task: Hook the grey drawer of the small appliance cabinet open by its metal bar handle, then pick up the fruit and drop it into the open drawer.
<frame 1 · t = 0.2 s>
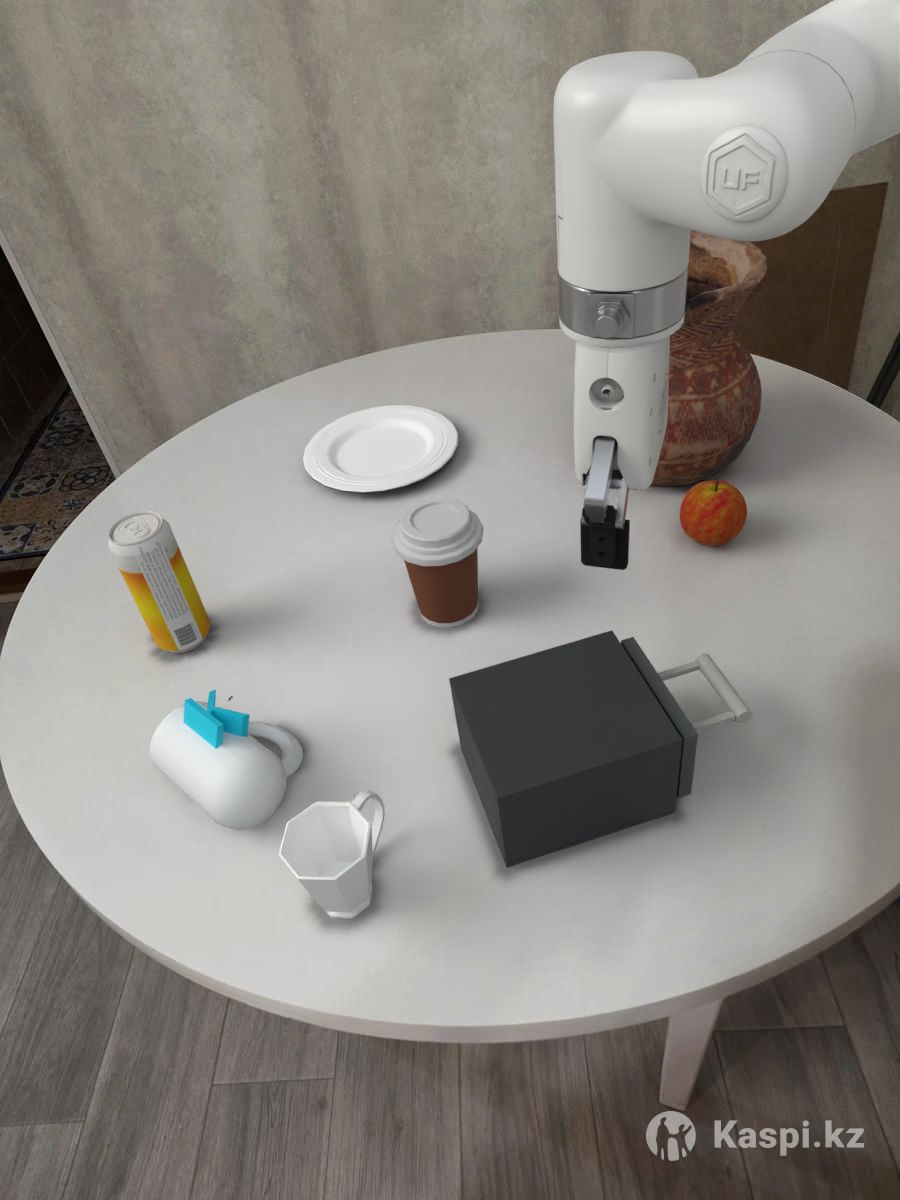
hand: (616, 522, 63), 23 cm above the table, tool pointing down, fingers open, 9 cm apart
beer can: (185, 637, 94), on the table
coffee cup: (449, 608, 92), on the table
grey drawer: (621, 726, 72), point 5 cm above the table, slide at 0.5 cm
cup: (356, 879, 70), on the table
fruit: (710, 540, 96), on the table
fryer: (562, 779, 74), on the table
jug: (664, 456, 109), on the table
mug: (253, 781, 78), on the table
plate: (382, 458, 116), on the table
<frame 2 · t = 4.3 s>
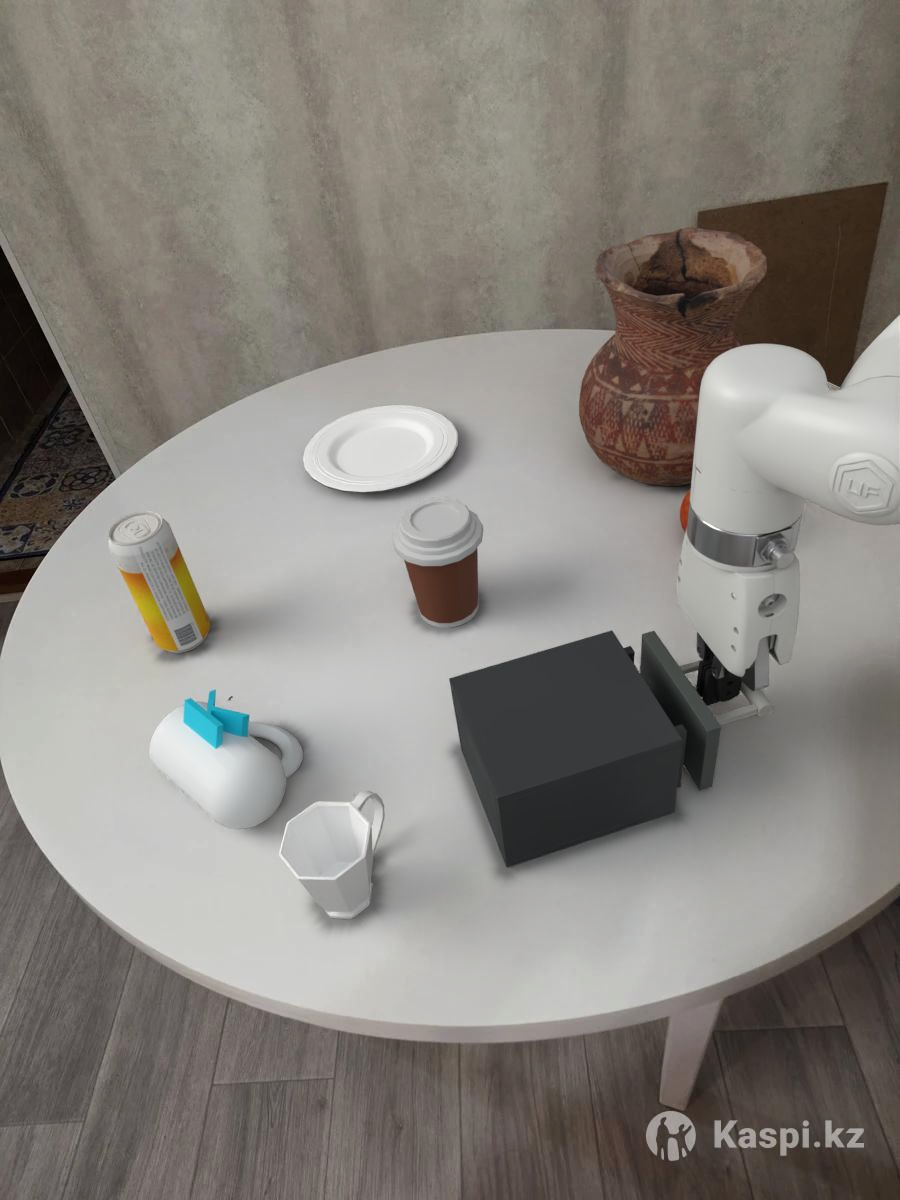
hand: (717, 694, 73), 5 cm above the table, tool pointing down, fingers closed
grey drawer: (642, 719, 72), point 5 cm above the table, slide at 2.4 cm, touching gripper
everything else where it was.
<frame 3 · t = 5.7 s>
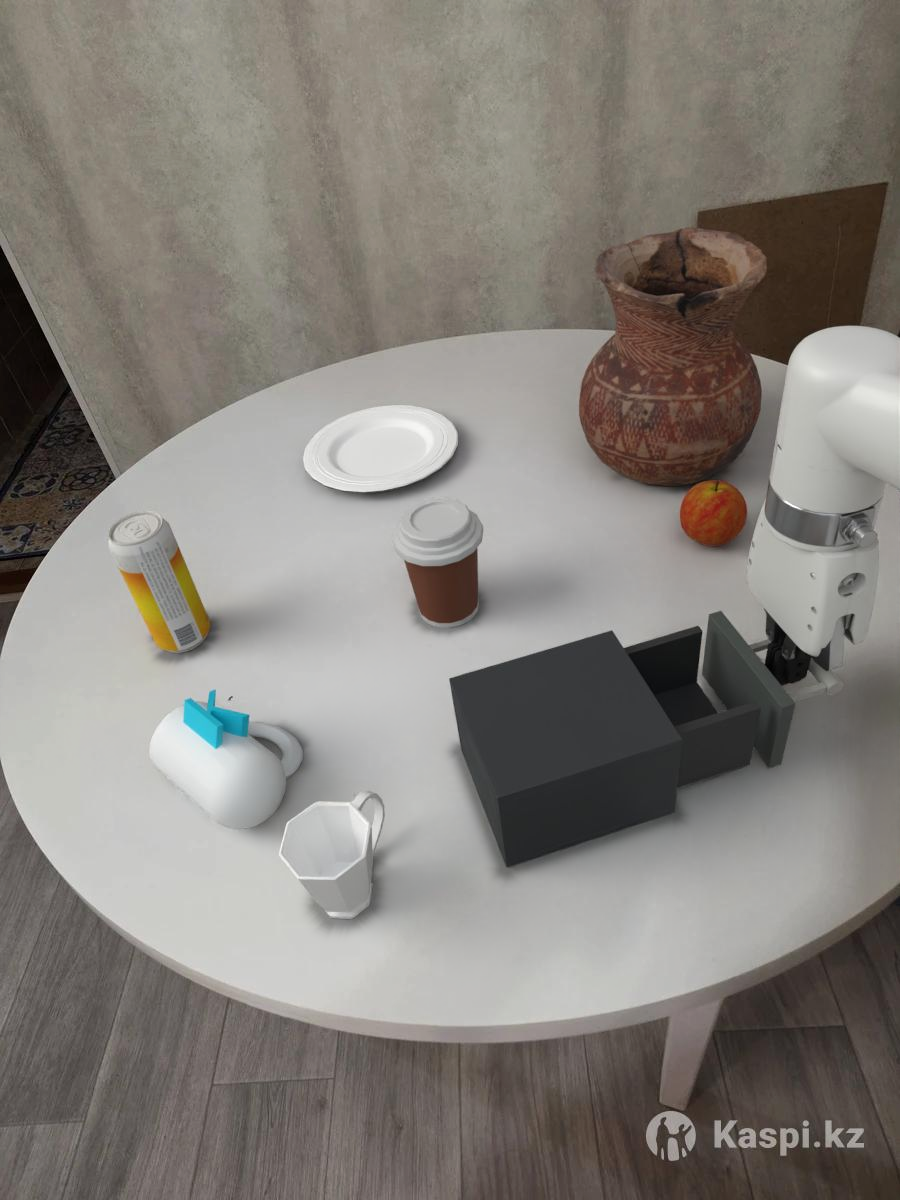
hand: (784, 676, 74), 5 cm above the table, tool pointing down, fingers closed
grey drawer: (711, 698, 73), point 5 cm above the table, slide at 8.7 cm, touching gripper
everything else where it was.
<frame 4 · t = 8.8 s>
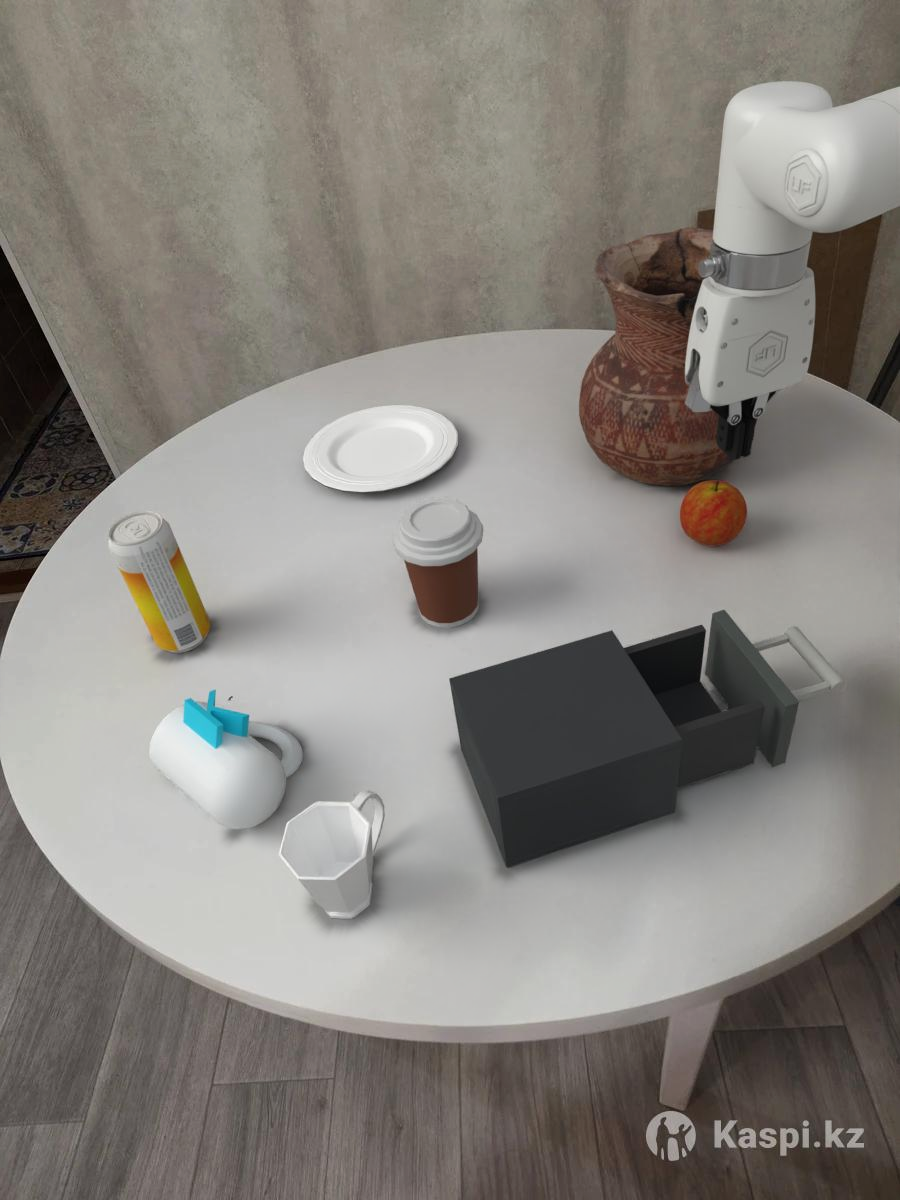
hand: (733, 450, 83), 14 cm above the table, tool pointing down, fingers closed
grey drawer: (715, 696, 73), point 5 cm above the table, slide at 9.0 cm
everything else where it was.
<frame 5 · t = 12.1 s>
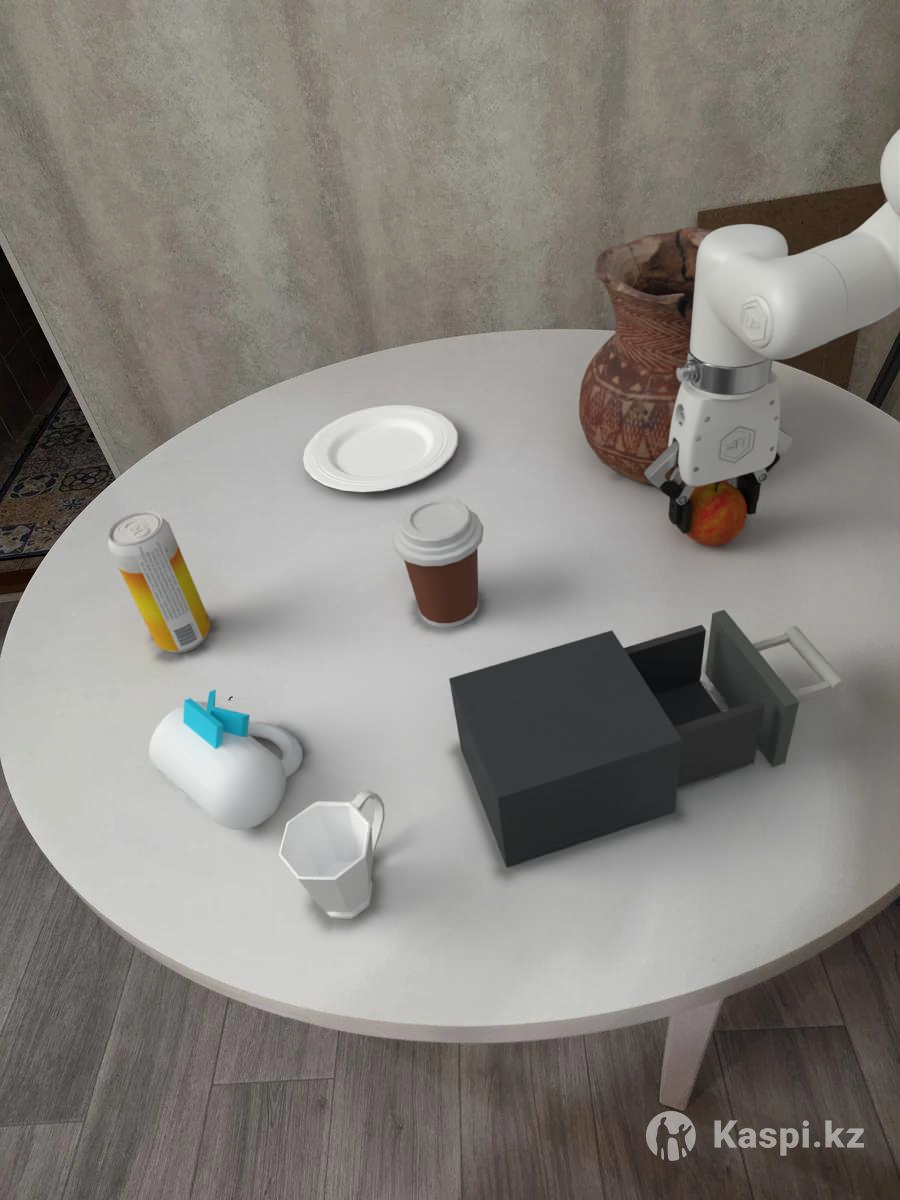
hand: (712, 515, 93), 3 cm above the table, tool pointing down, fingers closed on fruit, 7 cm apart
fruit: (710, 540, 96), on the table, touching gripper
everything else where it was.
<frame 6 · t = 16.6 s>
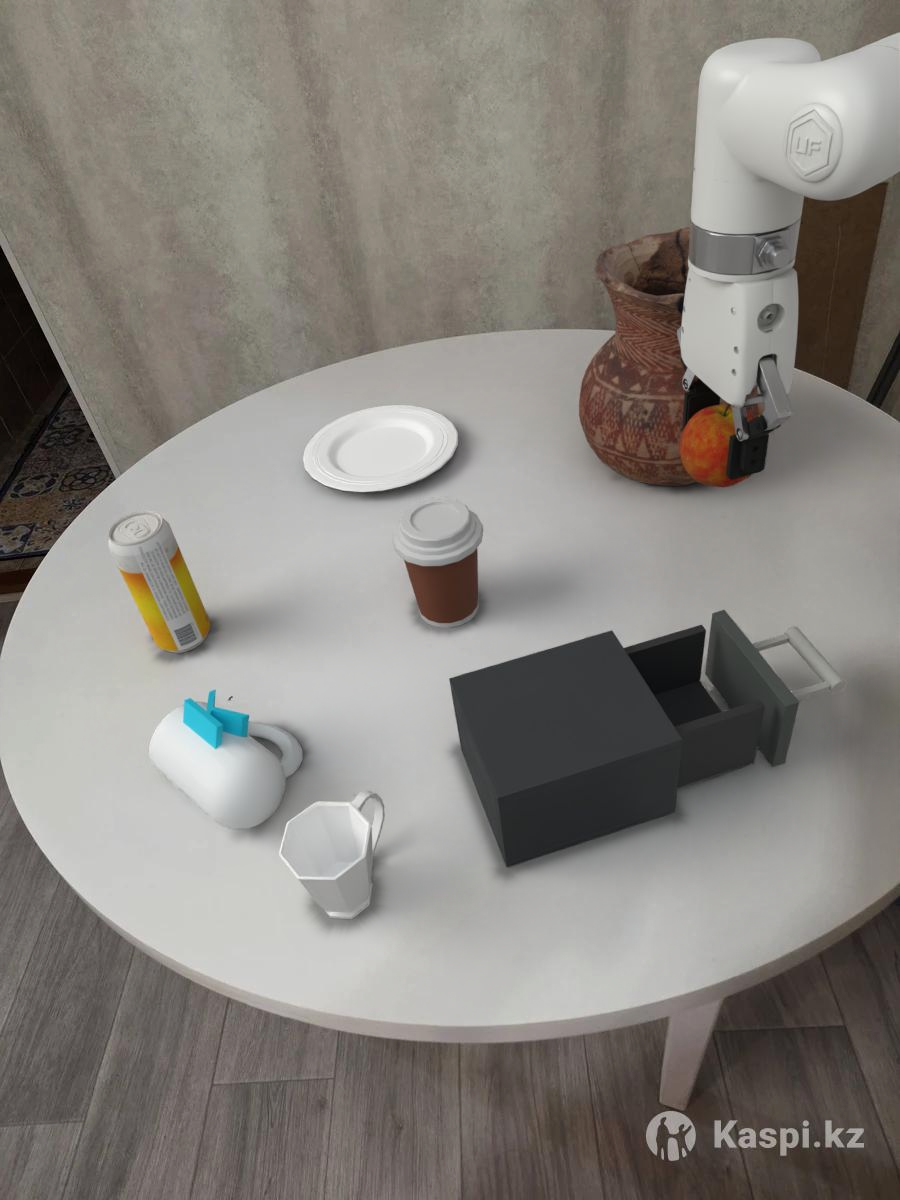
hand: (721, 449, 74), 19 cm above the table, tool pointing down, fingers closed on fruit, 7 cm apart
fruit: (717, 482, 77), point 16 cm above the table, touching gripper
everything else where it was.
when the fingers open (10 cm above the table, at t = 21.2 s): fruit drops 4 cm, resting on grey drawer.
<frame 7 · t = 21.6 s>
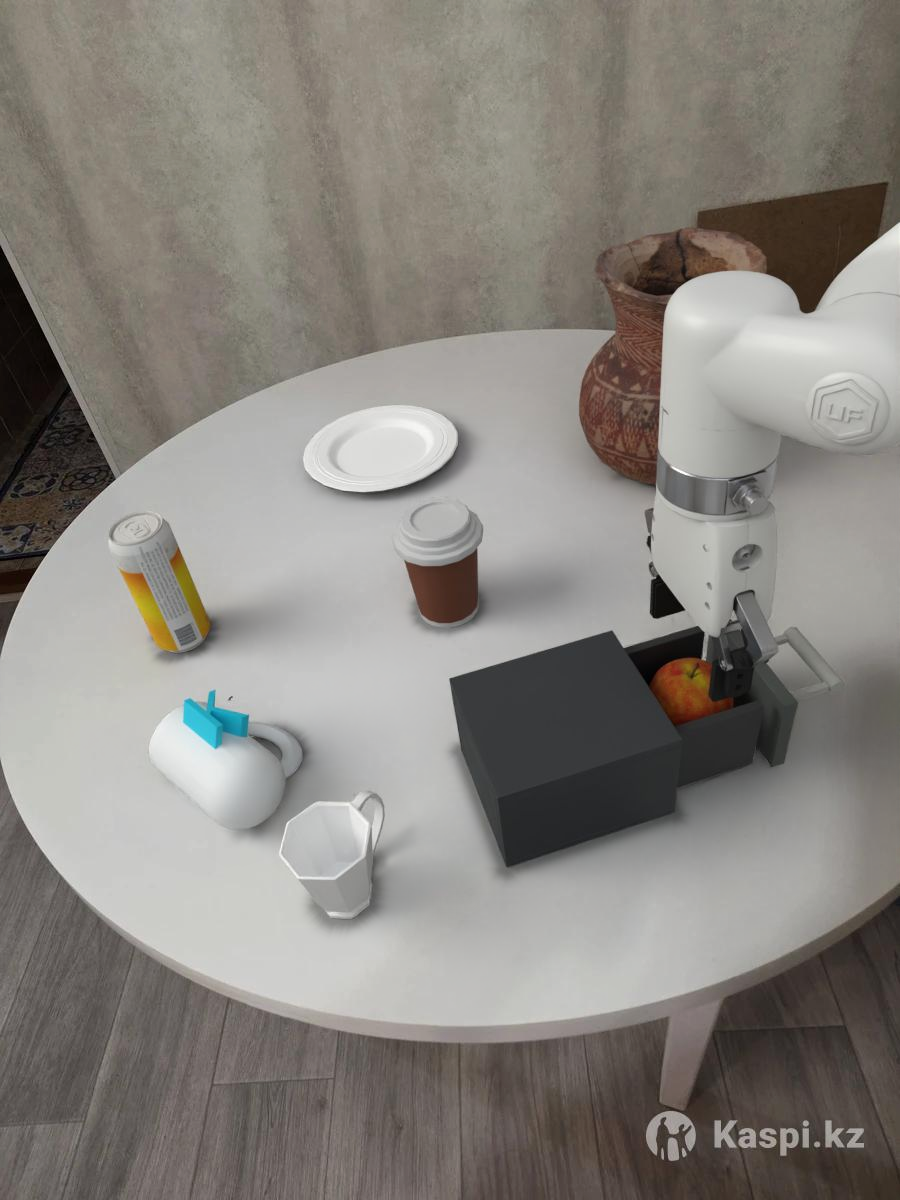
hand: (697, 651, 68), 11 cm above the table, tool pointing down, fingers open, 9 cm apart
grey drawer: (714, 697, 73), point 5 cm above the table, slide at 9.0 cm, touching fruit
fruit: (686, 729, 75), point 2 cm above the table, touching grey drawer
everything else where it was.
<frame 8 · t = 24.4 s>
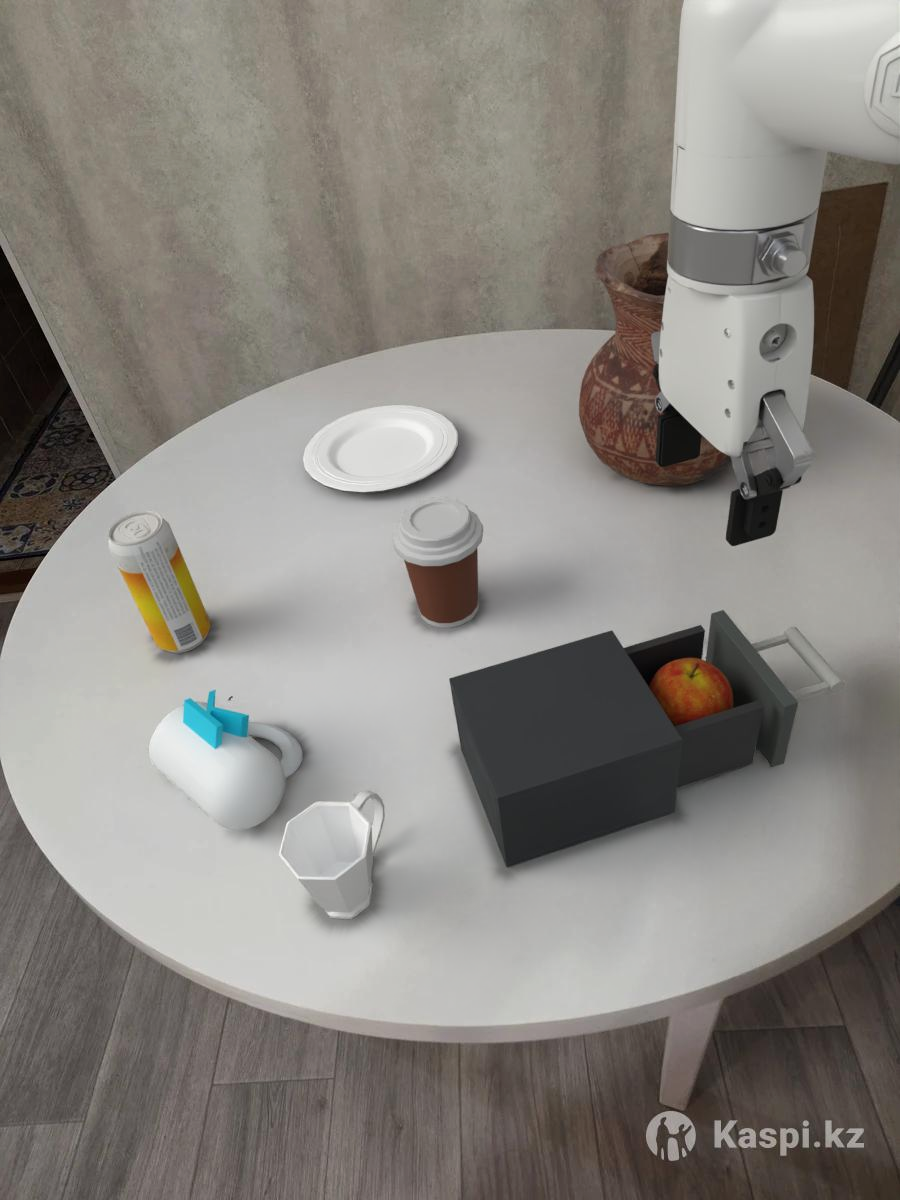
hand: (711, 497, 58), 26 cm above the table, tool pointing down, fingers open, 9 cm apart
nothing on the table moved.
at the end: grey drawer slide at 9.0 cm; fruit inside the target area in the grey drawer (0.9 cm from its centre), point 1.8 cm above the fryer's base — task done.
